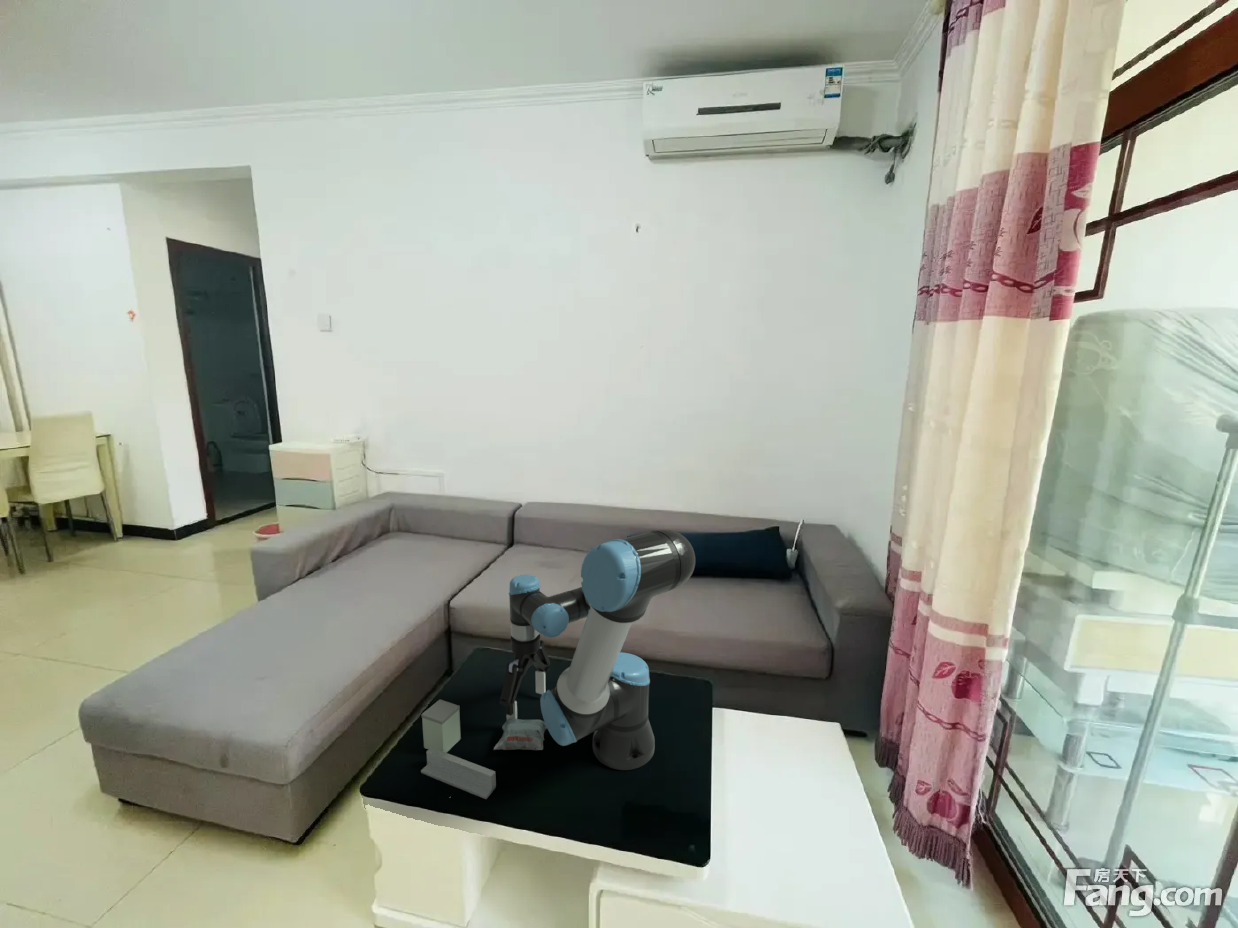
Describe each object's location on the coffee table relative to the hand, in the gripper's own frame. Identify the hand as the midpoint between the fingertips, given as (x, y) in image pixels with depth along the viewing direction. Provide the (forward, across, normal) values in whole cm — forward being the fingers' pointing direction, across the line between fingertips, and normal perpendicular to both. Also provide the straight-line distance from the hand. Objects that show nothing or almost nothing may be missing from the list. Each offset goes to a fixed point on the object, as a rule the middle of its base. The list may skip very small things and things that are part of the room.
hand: (527, 707), depth 136 cm
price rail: (+2, +24, -2) cm, 24 cm away
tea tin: (+2, +18, -13) cm, 22 cm away
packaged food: (+3, +13, +3) cm, 14 cm away
